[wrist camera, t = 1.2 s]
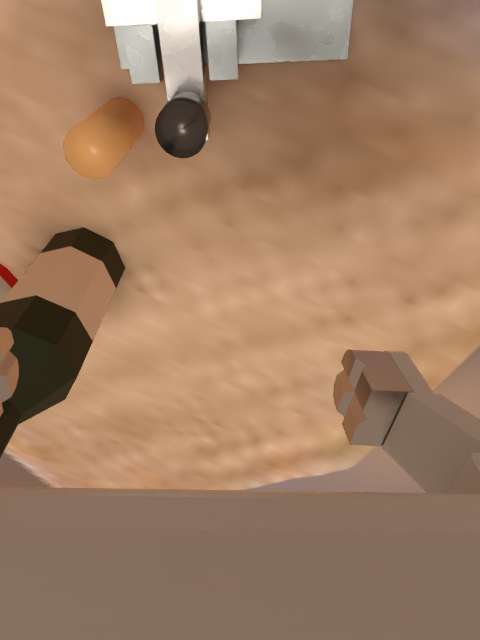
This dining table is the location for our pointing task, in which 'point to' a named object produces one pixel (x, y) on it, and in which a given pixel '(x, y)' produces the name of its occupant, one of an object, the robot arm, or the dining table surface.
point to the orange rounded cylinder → (103, 138)
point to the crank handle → (182, 79)
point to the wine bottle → (56, 320)
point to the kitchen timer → (6, 282)
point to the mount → (235, 34)
